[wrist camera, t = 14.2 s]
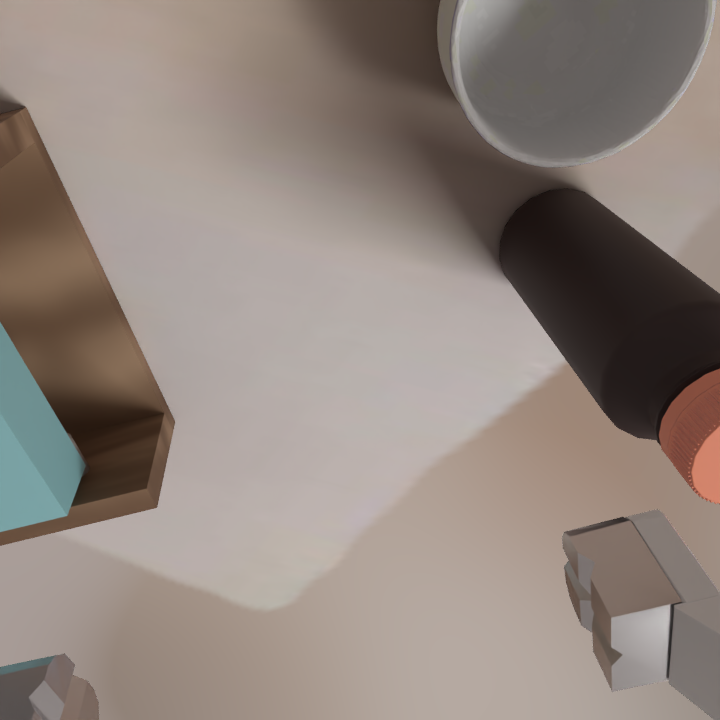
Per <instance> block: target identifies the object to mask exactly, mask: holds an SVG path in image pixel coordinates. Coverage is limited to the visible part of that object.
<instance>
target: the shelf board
mask: <svg viewBox="0 0 720 720" xmlns="http://www.w3.org/2000/svg"><path fill="white" fill-rule="evenodd" d="M85 466H86V465H85V463H84V461H83V460H82V458H81V456H80V455H79V453H78V451H77V450H76V448H75V446H74V445H73V443H72V441H71V440H70V438H69V436H68V435H67V433H66V431H65V430H64V428H63V426H62V425H61V423H60V421H59V420H58V418H57V416H56V415H55V413H54V411H53V409H52V408H51V406H50V404H49V403H48V401H47V399H46V398H45V396H44V394H43V393H42V391H41V389H40V388H39V386H38V384H37V383H36V381H35V379H34V378H33V376H32V374H31V373H30V371H29V369H28V368H27V366H26V364H25V363H24V361H23V359H22V358H21V356H20V354H19V353H18V351H17V349H16V347H15V346H14V344H13V342H12V341H11V339H10V337H9V336H8V334H7V332H6V331H5V329H4V327H3V326H2V324H1V322H0V532H3V531H7V530H11V529H15V528H19V527H23V526H28V525H32V524H36V523H40V522H44V521H48V520H52V519H56V518H60V517H65V516H67V515H68V513H69V510H70V507H71V504H72V502H73V499H74V496H75V494H76V491H77V488H78V485H79V483H80V480H81V477H82V475H83V472H84V469H85Z"/></svg>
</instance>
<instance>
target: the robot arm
mask: <svg viewBox="0 0 720 720" xmlns="http://www.w3.org/2000/svg"><path fill="white" fill-rule="evenodd" d="M562 543H563V549H564V552H565V554H566V556H567V558H568V560H569V561H568V562H567V564H566V565H565V566H564V570H565V578H566V584H567V588H568V592H569V596H570V599H571V602H572V604H573V607H574V610H575V612H576V614H577V617H578V619H579V621H580V623H581V625H582V626H583V627H584V628H586V629H587V630H589V631H590V632H592V636H593V652H594V654H595V656H596V658H597V660H598V662H599V665H600V667H601V669H602V671H603V673H604V675H605V677H606V680H607V682H608V684H609V686H610V688H611V690H612V691H618V690H623V689H628V688H633V687H638V686H643V685H647V684H652V683H657V682H662V681H666V680H669V684H670V685H671V686H673V687H674V688H675V689H676V690H678V691H679V692H680V693H681V694H683V695H684V696H685V697H686V698H688V699H689V700H690V701H692V702H693V703H694V704H695V705H696V706H698V707H699V708H700V709H701V710H703V711H704V712H705V713H706V714H708V715H709V716H710V717H711V718H713V719H714V720H720V591H719V590H718V588H717V587H716V586H715V584H714V583H713V581H712V580H711V579H710V577H709V576H708V574H707V573H706V572H705V570H704V569H703V567H702V566H701V565H700V563H699V562H698V561H697V559H696V558H695V556H694V555H693V553H692V552H691V551H690V549H689V548H688V546H687V545H686V544H685V542H684V541H683V539H682V538H681V536H680V535H679V534H678V532H677V531H676V530H675V528H674V527H673V525H672V524H671V522H670V521H669V520H668V518H667V517H666V515H665V514H664V513H663V512H661V511H660V510H658V509H657V510H652V511H648V512H644V513H640V514H636V515H632V516H628V517H625V518H624V517H620V518H617V519H613V520H609V521H605V522H601V523H597V524H593V525H589V526H586V527H582V528H578V529H574V530H570V531H566V532H564V533H563V536H562ZM74 667H75V664H74V663H73V662H72V661H71V660H70V659H69V658H68V656H67V655H66V654H60V655H55V656H51V657H46V658H41V659H36V660H31V661H27V662H22V663H17V664H12V665H8V666H4V667H0V720H99V702H98V699H97V696H96V694H95V691H94V689H93V687H92V686H91V685H90V683H89V682H88V681H87V680H84V679H82V678H79V677H76V676H74V675H73V671H74Z"/></svg>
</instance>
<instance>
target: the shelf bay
mask: <svg viewBox="0 0 720 720" xmlns="http://www.w3.org/2000/svg"><path fill="white" fill-rule="evenodd" d="M0 322H1V324H2V326H3V327H4V329H5V331H6V332H7V334H8V336H9V337H10V339H11V341H12V342H13V344H14V346H15V347H16V349H17V351H18V353H19V354H20V356H21V358H22V359H23V361H24V363H25V364H26V366H27V368H28V369H29V371H30V373H31V374H32V376H33V378H34V379H35V381H36V383H37V384H38V386H39V388H40V389H41V391H42V393H43V394H44V396H45V398H46V399H47V401H48V403H49V404H50V406H51V408H52V409H53V411H54V413H55V415H56V416H57V418H58V420H59V421H60V423H61V425H62V426H63V428H64V430H65V431H66V433H67V435H68V436H69V438H70V440H71V441H72V443H73V445H74V446H75V448H76V450H77V451H78V453H79V455H80V456H81V458H82V460H83V461H84V463H85V465H86V466H85V469H84V472H83V475H82V477H81V480H80V483H79V485H78V488H77V491H76V494H75V496H74V499H73V502H72V504H71V507H70V510H69V513H68V515H67V516H65V517H60V518H56V519H52V520H48V521H44V522H40V523H36V524H32V525H28V526H23V527H19V528H15V529H11V530H7V531H3V532H0V546H1V545H5V544H9V543H13V542H17V541H22V540H25V539H30V538H34V537H38V536H42V535H46V534H50V533H55V532H59V531H63V530H67V529H71V528H75V527H79V526H83V525H88V524H92V523H96V522H100V521H104V520H108V519H112V518H116V517H121V516H125V515H129V514H133V513H137V512H141V511H145V510H149V509H154V508H157V505H158V500H159V496H160V491H161V486H162V481H163V477H164V472H165V467H166V462H167V458H168V453H169V448H170V443H171V439H172V434H173V429H174V424H175V420H174V418H173V416H172V414H171V412H170V410H169V408H168V406H167V404H166V401H165V399H164V397H163V395H162V393H161V391H160V389H159V387H158V385H157V382H156V380H155V378H154V376H153V374H152V372H151V370H150V368H149V366H148V363H147V361H146V359H145V357H144V355H143V353H142V351H141V349H140V347H139V344H138V342H137V340H136V338H135V336H134V334H133V332H132V330H131V328H130V325H129V323H128V321H127V319H126V317H125V315H124V313H123V311H122V309H121V306H120V304H119V302H118V300H117V298H116V296H115V294H114V292H113V290H112V287H111V285H110V283H109V281H108V279H107V277H106V275H105V273H104V271H103V268H102V266H101V264H100V262H99V260H98V258H97V256H96V254H95V252H94V249H93V247H92V245H91V243H90V241H89V239H88V237H87V235H86V233H85V230H84V228H83V226H82V224H81V222H80V220H79V218H78V216H77V214H76V211H75V209H74V207H73V205H72V203H71V201H70V199H69V197H68V195H67V192H66V190H65V188H64V186H63V184H62V182H61V180H60V178H59V176H58V173H57V171H56V169H55V167H54V165H53V163H52V161H51V159H50V157H49V154H48V152H47V150H46V148H45V146H44V144H43V142H42V140H41V138H40V135H39V133H38V131H37V129H36V127H35V125H34V123H33V121H32V119H31V116H30V114H29V112H28V110H27V108H22V109H18V110H14V111H10V112H6V113H2V114H0Z"/></svg>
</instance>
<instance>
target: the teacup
mask: <svg viewBox="0 0 720 720" xmlns="http://www.w3.org/2000/svg"><path fill="white" fill-rule="evenodd" d="M716 4H717V0H440V5H439V10H438V19H437V40H438V50H439V56H440V60H441V65H442V68H443V71H444V74H445V77H446V79H447V82H448V84H449V86H450V88H451V90H452V92H453V93H454V95H455V97H456V99H457V100H458V102H459V103H460V105H461V107H462V109H463V111H464V113H465V116H466V117H467V119H468V120H469V122H470V123H471V125H472V126H473V127H474V128H475V130H476V131H477V132H478V133H479V134H480V136H481V137H482V138H483V139H484V140H485V141H487V142H488V143H489V144H490V145H491V146H492V147H494V148H495V149H497V150H498V151H499V152H501V153H502V154H504V155H506V156H508V157H510V158H512V159H515V160H517V161H520V162H523V163H525V164H529V165H534V166H538V167H552V168H555V167H571V166H576V165H581V164H587V163H591V162H594V161H597V160H600V159H602V158H605V157H608V156H610V155H613V154H615V153H618V152H620V151H621V150H622V149H624V148H625V147H627V146H629V145H631V144H632V143H634V142H635V141H637V140H638V139H640V138H641V137H642V136H644V135H645V134H646V133H648V132H649V131H650V130H651V129H652V128H653V127H654V126H655V125H656V124H657V123H659V122H660V121H661V120H662V119H663V118H664V117H665V116H666V115H667V114H668V113H669V112H670V111H671V109H672V108H673V107H674V105H675V104H676V103H677V102H678V100H679V99H680V97H681V96H682V94H683V93H684V92H685V90H686V89H687V87H688V85H689V83H690V82H691V80H692V79H693V77H694V75H695V72H696V70H697V69H698V67H699V65H700V63H701V60H702V58H703V55H704V53H705V50H706V48H707V45H708V42H709V39H710V34H711V30H712V27H713V22H714V16H715V9H716Z"/></svg>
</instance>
